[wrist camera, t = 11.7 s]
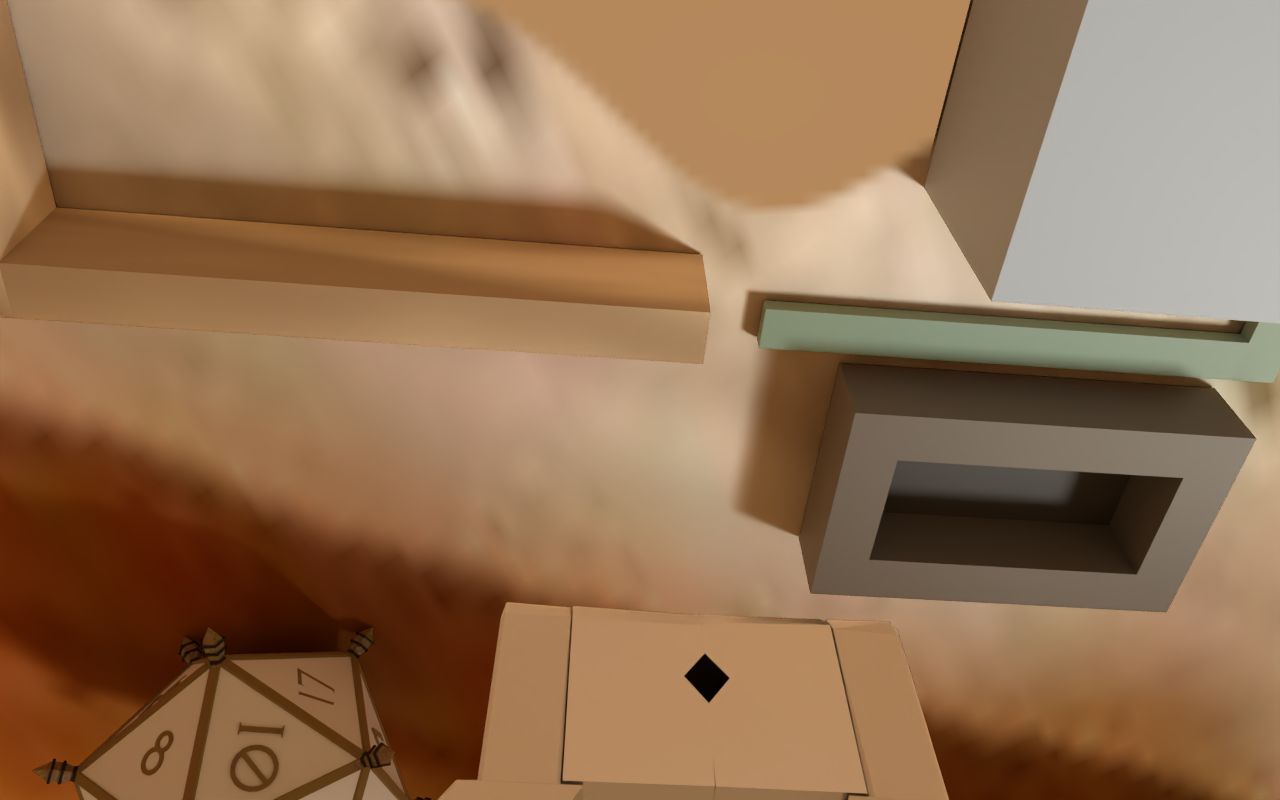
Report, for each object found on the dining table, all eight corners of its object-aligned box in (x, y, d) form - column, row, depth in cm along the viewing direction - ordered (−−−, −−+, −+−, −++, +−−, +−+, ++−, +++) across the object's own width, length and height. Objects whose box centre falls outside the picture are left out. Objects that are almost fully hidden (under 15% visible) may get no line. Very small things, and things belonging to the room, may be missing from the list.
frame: (1264, 373, 25) (1272, 382, 25) (757, 338, 24) (758, 348, 24) (1593, -284, 18) (1612, -284, 17) (881, -364, 17) (886, -365, 16)
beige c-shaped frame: (695, 303, 24) (702, 363, 22) (-5, 254, 23) (-67, 312, 21) (779, -314, 17) (800, -311, 15) (-193, -419, 16) (-312, -432, 14)
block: (1285, 214, 23) (1433, 335, 19) (922, 184, 22) (990, 301, 18) (1429, -87, 19) (1647, -21, 15) (1004, -131, 19) (1113, -76, 15)
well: (1134, 557, 28) (1166, 612, 27) (799, 538, 28) (810, 593, 26) (1214, 388, 25) (1256, 438, 23) (839, 363, 25) (855, 413, 23)
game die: (297, 615, 34) (62, 914, 29) (193, 481, 27) (-137, 846, 22) (530, 751, 31) (313, 1106, 27) (481, 641, 24) (174, 1097, 20)
